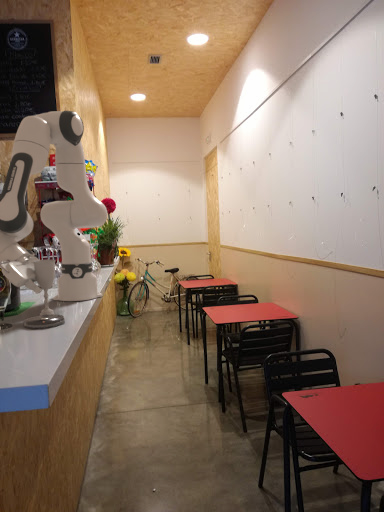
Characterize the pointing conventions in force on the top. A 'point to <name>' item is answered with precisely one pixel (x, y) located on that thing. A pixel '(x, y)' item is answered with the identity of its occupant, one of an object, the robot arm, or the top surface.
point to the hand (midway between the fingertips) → (46, 289)
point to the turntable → (44, 321)
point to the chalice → (45, 280)
